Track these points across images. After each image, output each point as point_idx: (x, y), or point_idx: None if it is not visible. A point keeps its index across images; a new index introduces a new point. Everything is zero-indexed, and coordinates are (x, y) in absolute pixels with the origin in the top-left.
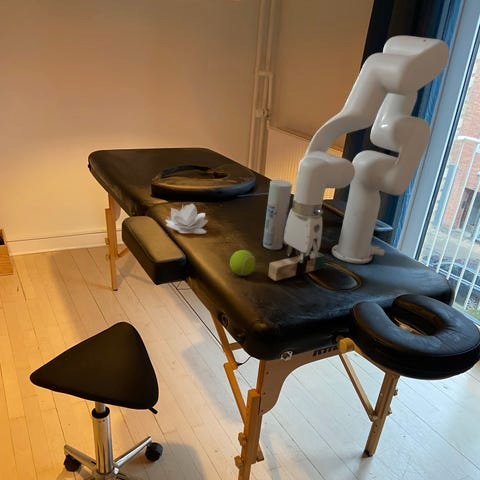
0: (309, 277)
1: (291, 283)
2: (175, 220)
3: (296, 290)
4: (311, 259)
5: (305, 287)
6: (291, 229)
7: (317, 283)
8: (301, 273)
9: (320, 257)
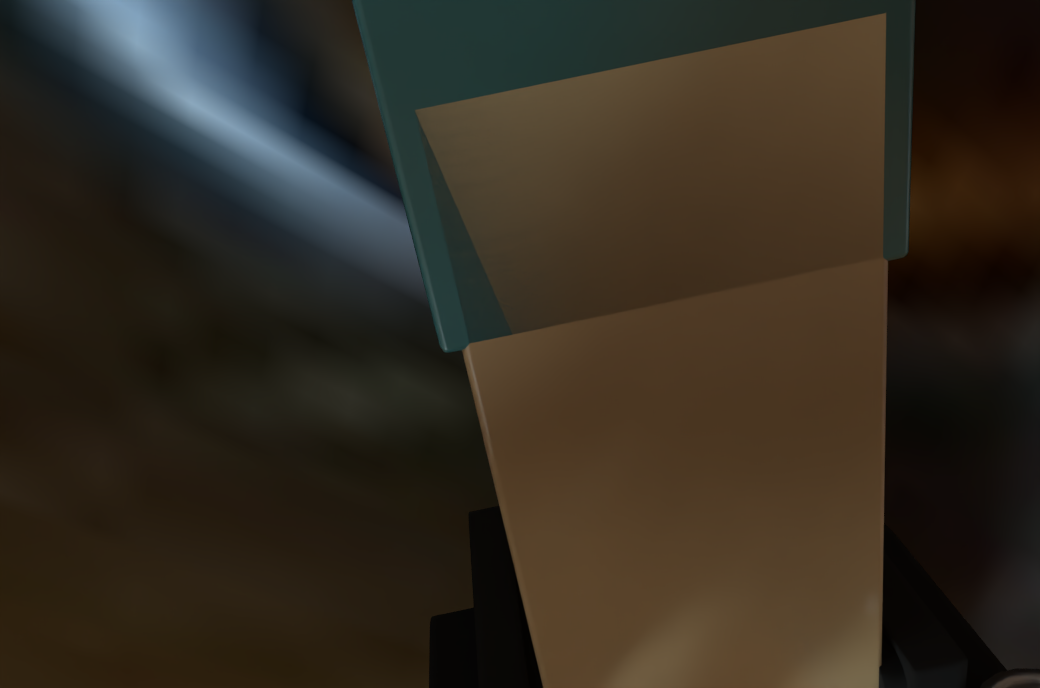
0: None
1: None
2: None
3: (1000, 658)
4: (874, 441)
5: (1011, 519)
6: None
7: (1030, 268)
8: None
9: (901, 3)
